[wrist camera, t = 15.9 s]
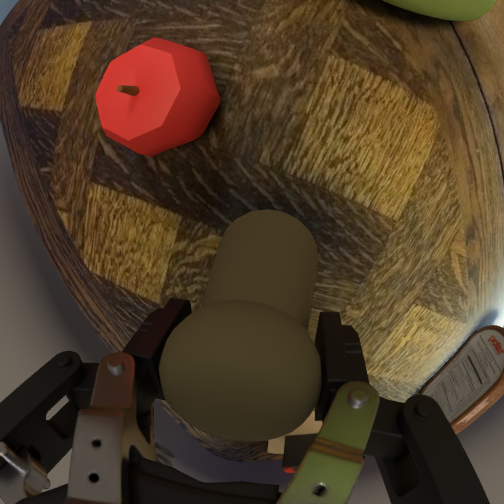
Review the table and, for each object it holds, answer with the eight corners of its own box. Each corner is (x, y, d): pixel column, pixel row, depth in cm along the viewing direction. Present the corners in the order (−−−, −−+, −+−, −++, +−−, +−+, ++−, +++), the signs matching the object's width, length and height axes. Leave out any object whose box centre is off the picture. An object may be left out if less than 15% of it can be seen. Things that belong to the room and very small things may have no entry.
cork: (209, 283, 18) (134, 425, 8) (232, 195, 15) (127, 305, 5) (297, 311, 18) (289, 470, 8) (333, 229, 15) (384, 381, 5)
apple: (173, 173, 20) (113, 195, 13) (119, 103, 18) (49, 100, 11) (255, 105, 17) (229, 85, 10) (190, 35, 16) (139, -4, 8)
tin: (419, 401, 27) (433, 453, 19) (404, 398, 27) (417, 453, 19) (499, 315, 21) (534, 363, 13) (488, 307, 20) (525, 357, 13)
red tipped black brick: (335, 431, 26) (336, 464, 22) (336, 437, 27) (336, 469, 22) (285, 435, 27) (281, 468, 23) (287, 441, 28) (284, 473, 24)
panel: (339, 438, 31) (339, 455, 29) (268, 435, 33) (266, 453, 30) (362, 390, 27) (366, 411, 24) (274, 388, 28) (271, 410, 25)
